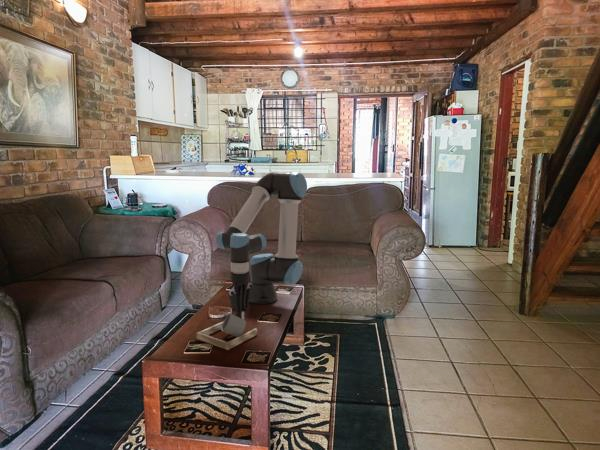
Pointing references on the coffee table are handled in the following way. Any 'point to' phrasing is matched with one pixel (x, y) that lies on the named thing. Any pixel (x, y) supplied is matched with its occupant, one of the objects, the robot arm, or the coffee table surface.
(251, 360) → the coffee table surface
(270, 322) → the coffee table surface
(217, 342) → the u-shaped bracket
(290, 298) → the coffee table surface
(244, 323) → the tilted grey cube
